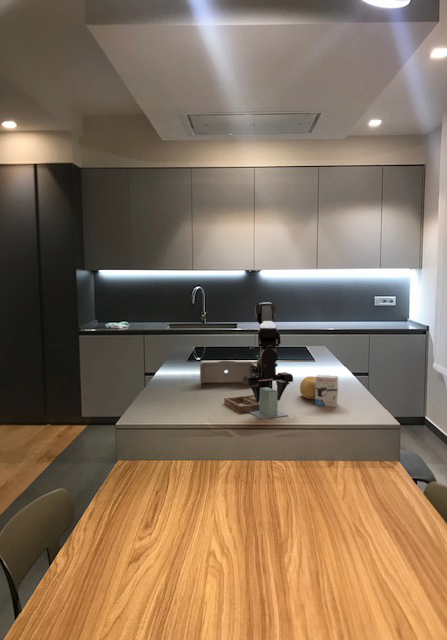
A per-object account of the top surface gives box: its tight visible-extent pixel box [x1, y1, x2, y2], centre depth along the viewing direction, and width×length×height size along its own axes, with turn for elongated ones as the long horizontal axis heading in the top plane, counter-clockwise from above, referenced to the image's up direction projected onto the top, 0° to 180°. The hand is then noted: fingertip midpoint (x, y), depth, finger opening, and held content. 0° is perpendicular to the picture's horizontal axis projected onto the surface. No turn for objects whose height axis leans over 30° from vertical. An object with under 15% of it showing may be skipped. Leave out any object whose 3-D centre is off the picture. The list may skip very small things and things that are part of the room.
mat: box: [248, 409, 289, 420], centre depth 192 cm, size 11×11×1 cm
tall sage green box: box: [259, 387, 278, 416], centre depth 191 cm, size 4×8×9 cm, turn 23°
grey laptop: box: [199, 359, 254, 388], centre depth 242 cm, size 25×16×12 cm, turn 92°
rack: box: [223, 394, 259, 414], centre depth 204 cm, size 15×15×2 cm
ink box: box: [314, 374, 339, 408], centre depth 205 cm, size 8×5×12 cm, turn 71°
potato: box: [299, 376, 316, 400], centre depth 215 cm, size 10×14×10 cm
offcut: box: [249, 396, 256, 403], centre depth 207 cm, size 3×5×2 cm, turn 38°
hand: (268, 401), depth 191 cm, fingers open, 8 cm apart
